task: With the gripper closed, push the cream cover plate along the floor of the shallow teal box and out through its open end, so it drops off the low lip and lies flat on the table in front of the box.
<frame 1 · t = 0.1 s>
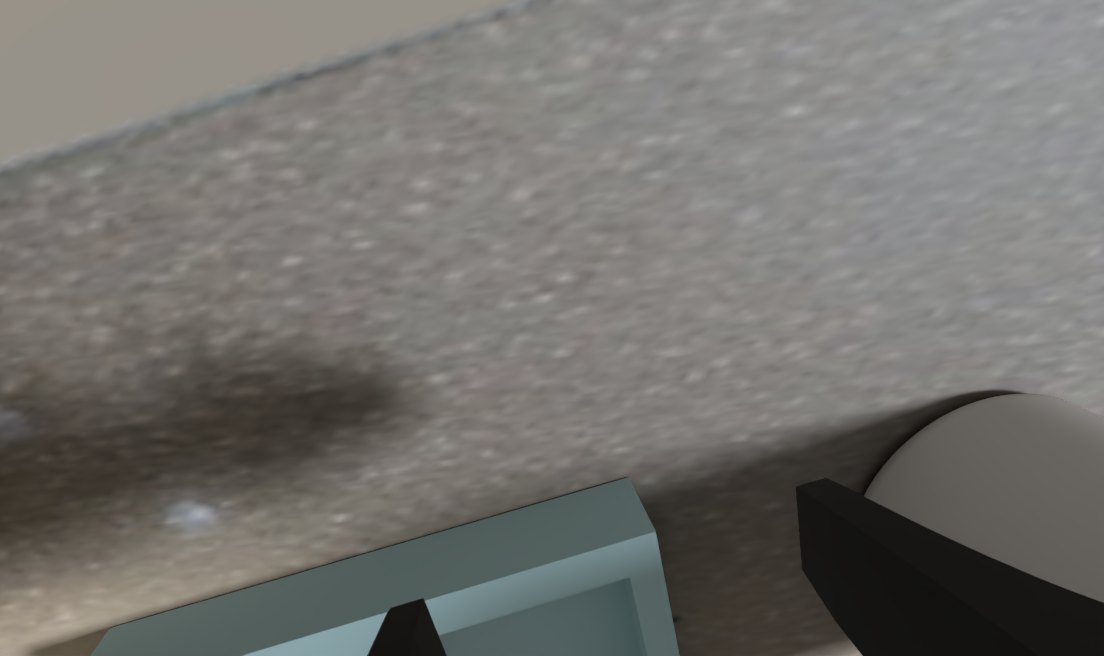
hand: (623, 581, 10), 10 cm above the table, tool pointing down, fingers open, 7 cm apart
cylinder vase: (961, 507, 25), on the table
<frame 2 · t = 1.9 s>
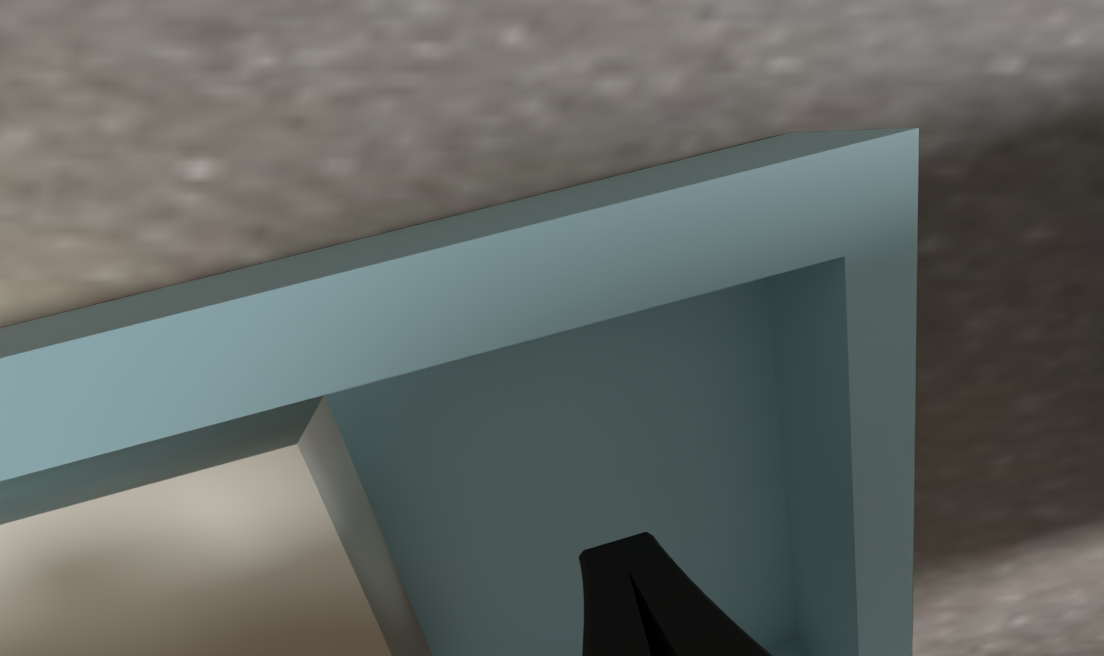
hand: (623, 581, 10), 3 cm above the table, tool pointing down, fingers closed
cover plate: (212, 632, 11), point 1 cm above the table, touching teal box
teal box: (403, 551, 12), on the table
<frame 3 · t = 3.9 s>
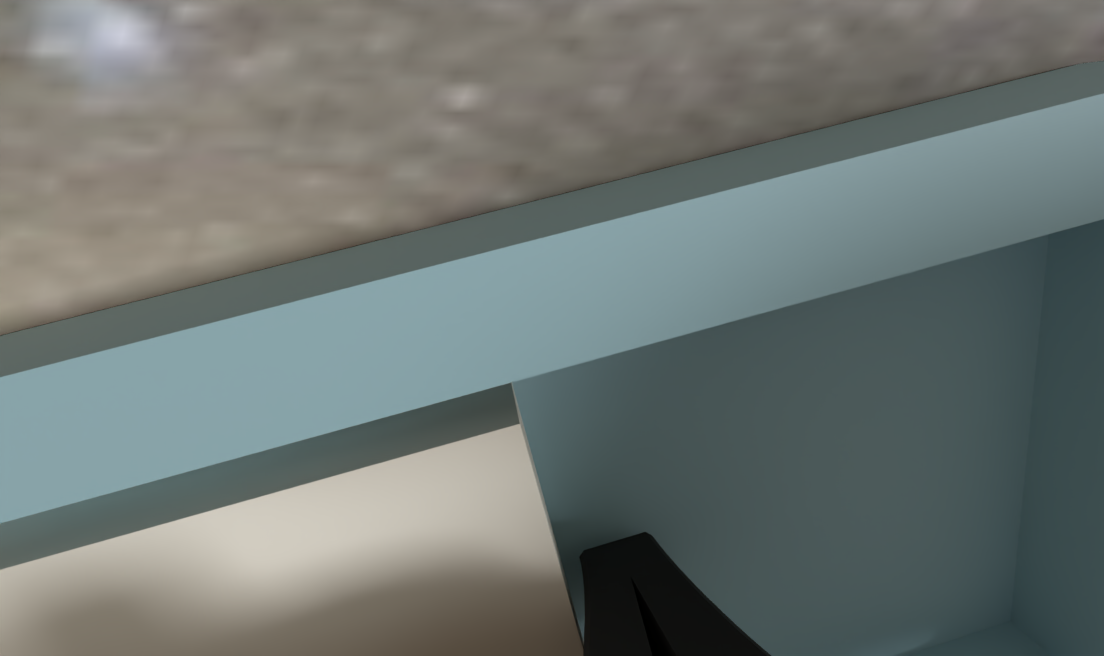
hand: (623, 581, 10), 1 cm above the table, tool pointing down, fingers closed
cover plate: (363, 636, 10), point 1 cm above the table, touching teal box
teal box: (616, 528, 12), on the table
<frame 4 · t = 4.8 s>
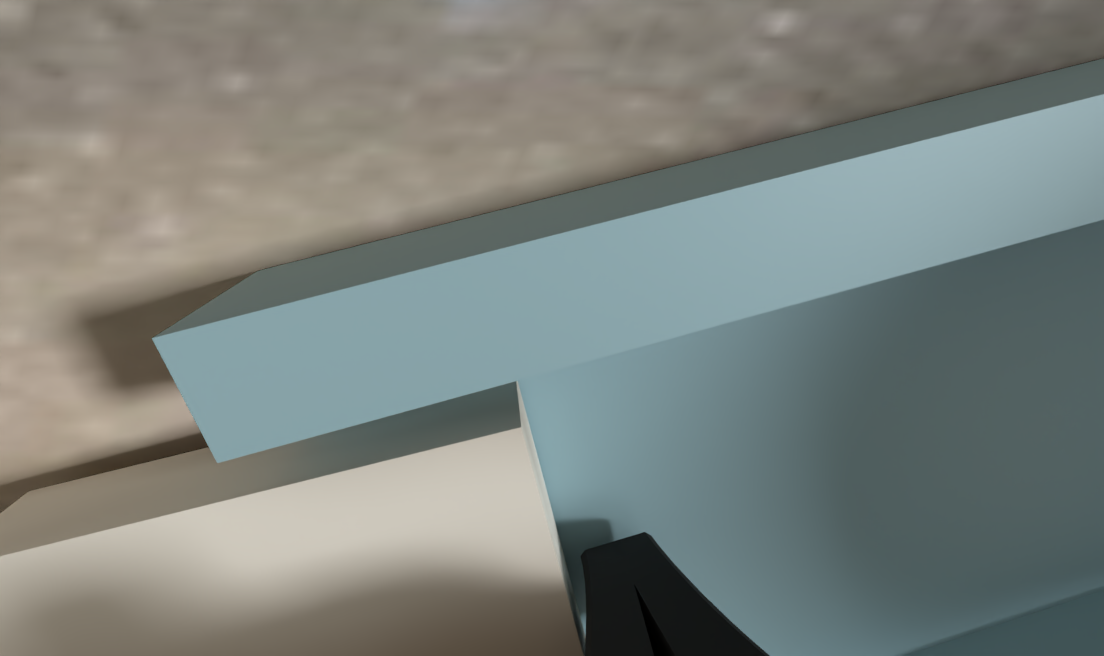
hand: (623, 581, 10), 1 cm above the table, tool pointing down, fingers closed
cover plate: (366, 631, 10), point 1 cm above the table, touching gripper
teal box: (847, 459, 12), on the table
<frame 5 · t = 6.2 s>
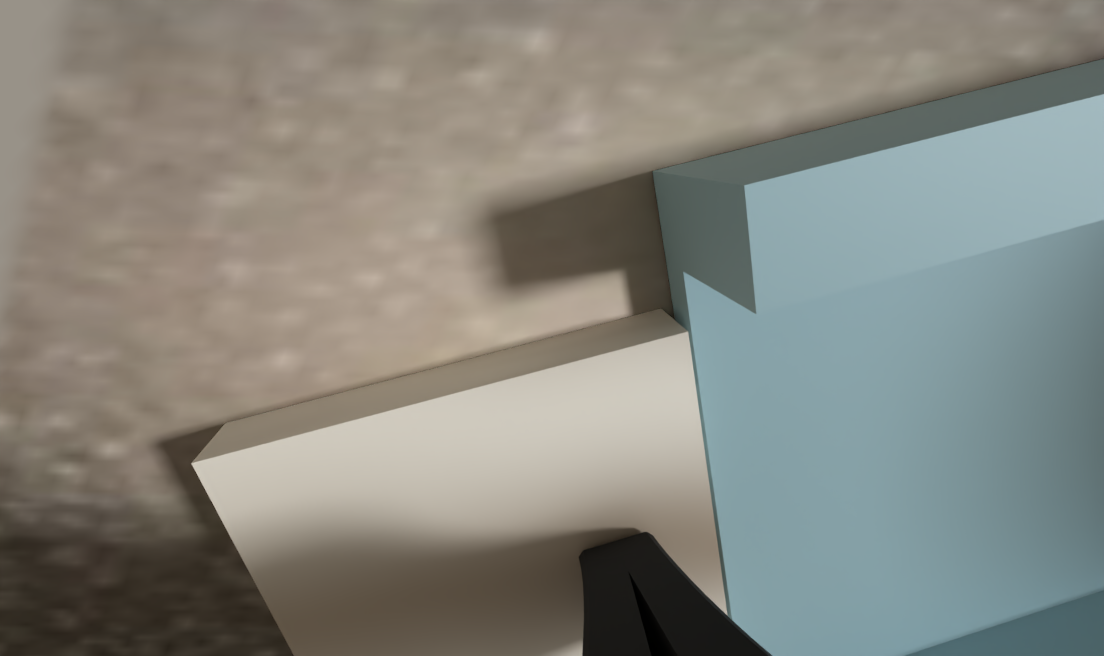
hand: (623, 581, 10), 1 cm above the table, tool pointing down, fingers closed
cover plate: (507, 539, 12), on the table
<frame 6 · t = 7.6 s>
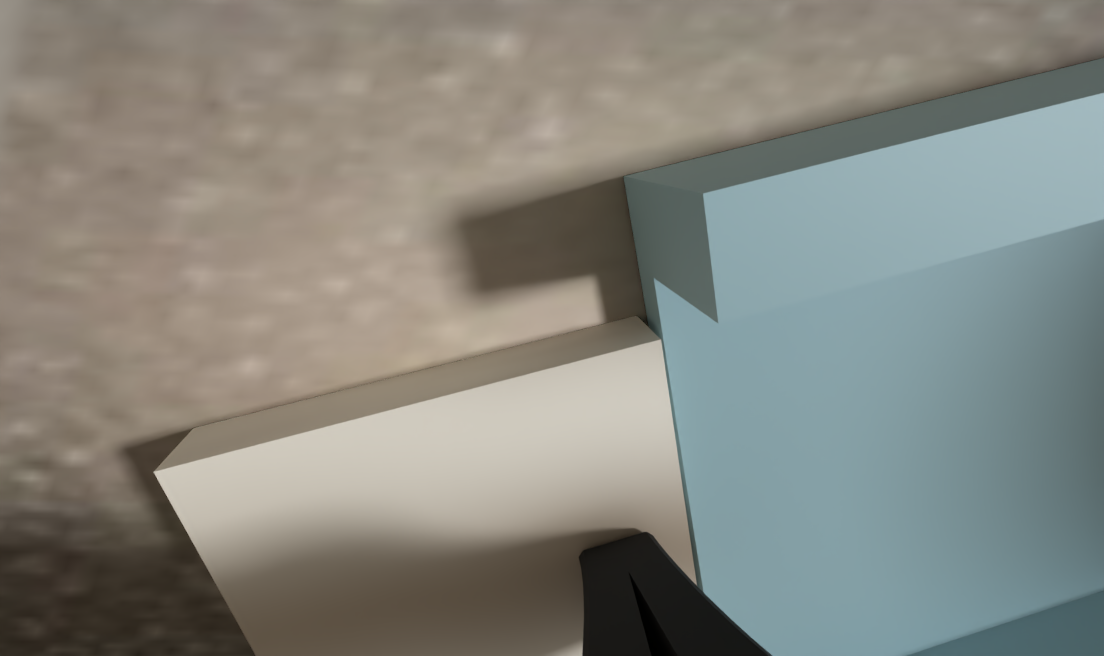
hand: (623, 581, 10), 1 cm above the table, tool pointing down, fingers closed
cover plate: (483, 546, 12), on the table
teal box: (1098, 385, 12), on the table
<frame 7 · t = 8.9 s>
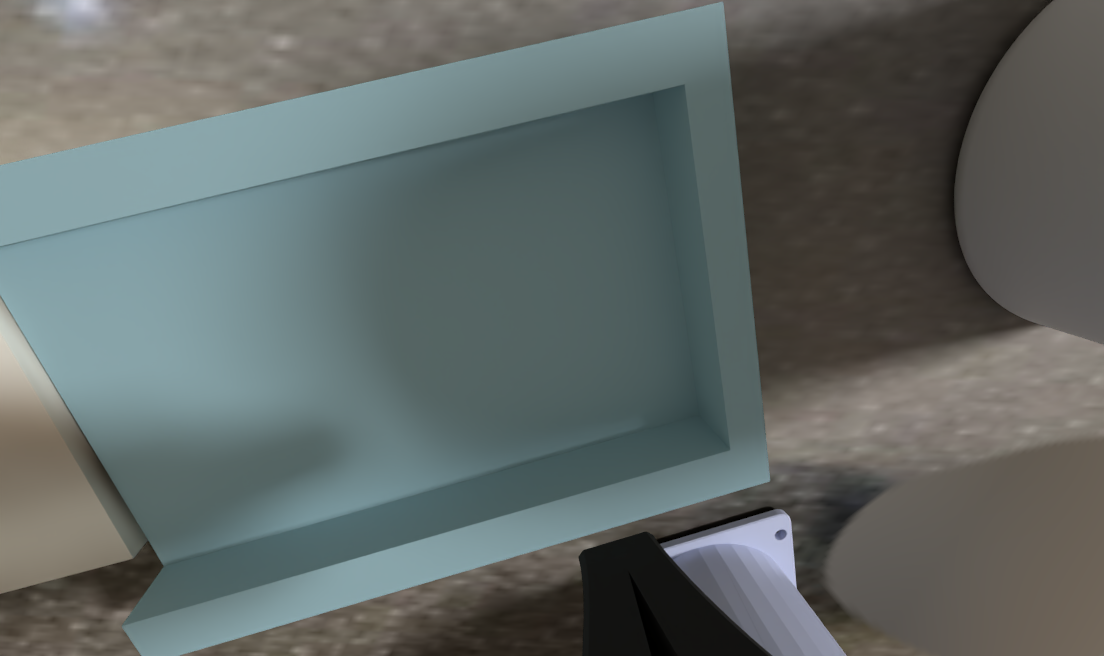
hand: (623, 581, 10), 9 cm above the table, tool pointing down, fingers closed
cylinder vase: (1093, 153, 20), on the table
teal box: (412, 332, 18), on the table
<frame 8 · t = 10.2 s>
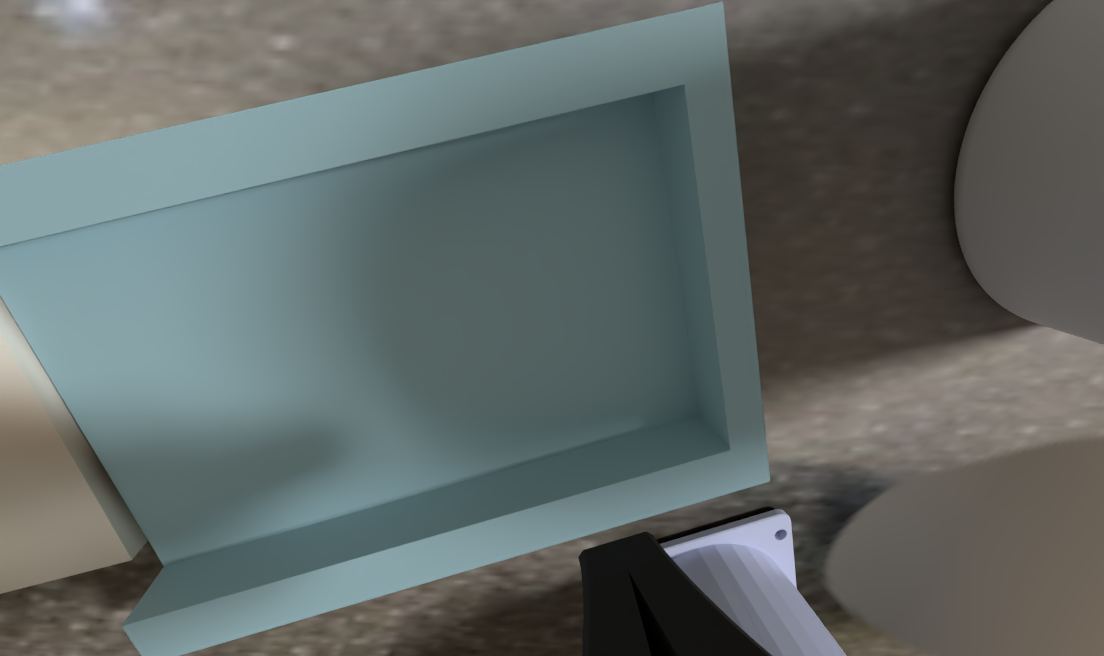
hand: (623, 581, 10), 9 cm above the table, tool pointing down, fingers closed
cylinder vase: (1093, 153, 20), on the table
teal box: (412, 332, 18), on the table
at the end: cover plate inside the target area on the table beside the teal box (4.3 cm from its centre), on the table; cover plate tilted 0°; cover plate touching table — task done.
